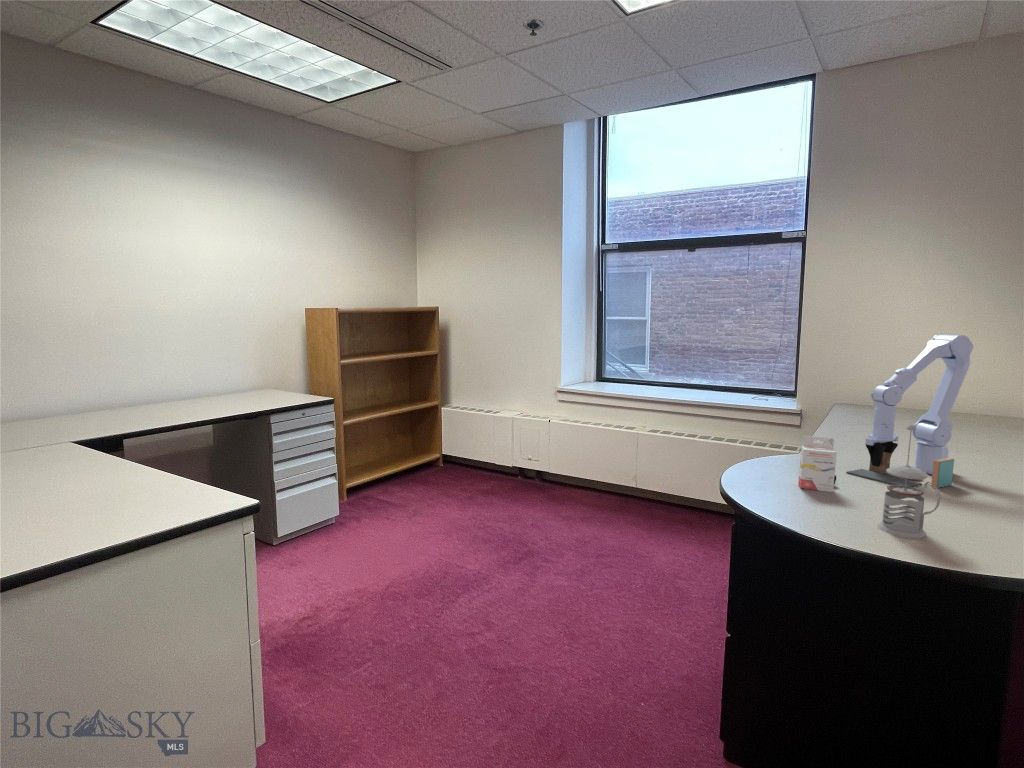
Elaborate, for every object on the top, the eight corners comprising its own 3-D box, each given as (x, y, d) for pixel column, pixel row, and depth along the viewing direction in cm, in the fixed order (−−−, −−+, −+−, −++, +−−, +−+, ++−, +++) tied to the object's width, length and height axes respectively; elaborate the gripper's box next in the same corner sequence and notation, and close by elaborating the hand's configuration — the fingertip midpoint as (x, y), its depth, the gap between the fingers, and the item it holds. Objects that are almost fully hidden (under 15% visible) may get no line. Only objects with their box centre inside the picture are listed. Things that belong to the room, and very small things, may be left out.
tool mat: (861, 470, 191) (861, 468, 191) (921, 485, 175) (921, 483, 175) (846, 473, 187) (846, 471, 187) (906, 488, 172) (906, 486, 172)
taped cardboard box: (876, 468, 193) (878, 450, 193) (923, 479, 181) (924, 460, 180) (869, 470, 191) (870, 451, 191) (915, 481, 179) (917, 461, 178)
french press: (883, 519, 145) (893, 419, 142) (940, 532, 137) (952, 426, 134) (870, 529, 139) (880, 424, 136) (930, 543, 130) (941, 432, 127)
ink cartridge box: (800, 489, 170) (804, 438, 168) (798, 484, 174) (801, 435, 173) (833, 492, 167) (838, 441, 165) (830, 487, 172) (834, 437, 170)
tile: (945, 483, 177) (948, 457, 176) (951, 485, 176) (954, 458, 175) (931, 487, 174) (933, 460, 173) (937, 488, 172) (940, 461, 171)
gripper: (883, 419, 196) (880, 459, 197) (857, 422, 189) (853, 464, 190) (906, 423, 189) (902, 464, 191) (880, 426, 183) (876, 469, 184)
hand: (879, 465), depth 190 cm, fingers closed on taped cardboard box, 4 cm apart
